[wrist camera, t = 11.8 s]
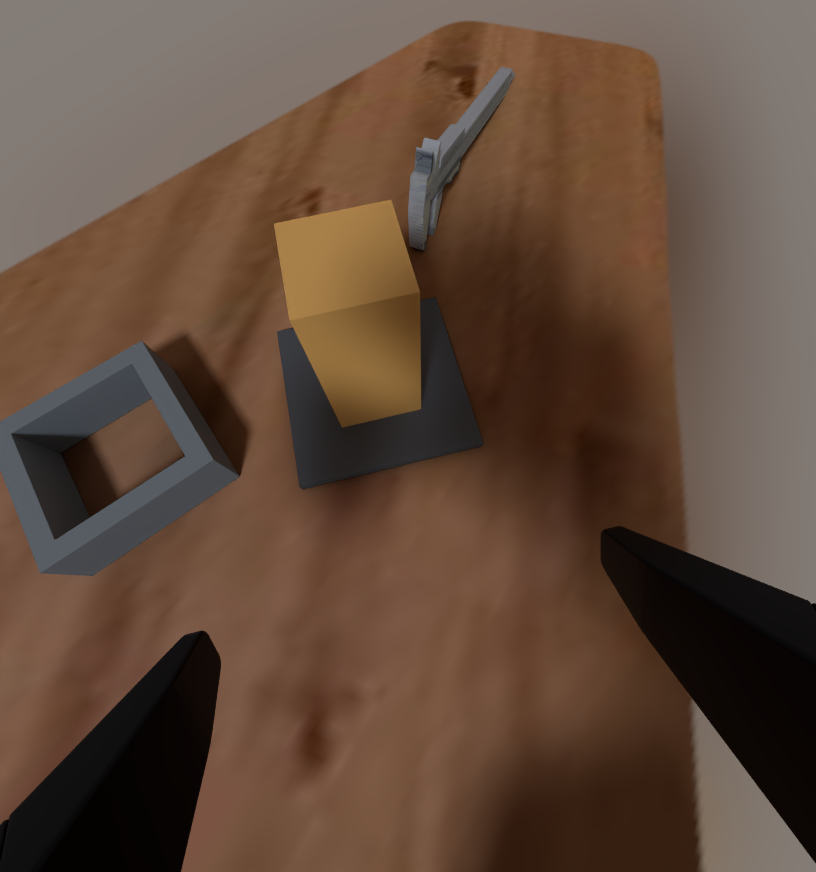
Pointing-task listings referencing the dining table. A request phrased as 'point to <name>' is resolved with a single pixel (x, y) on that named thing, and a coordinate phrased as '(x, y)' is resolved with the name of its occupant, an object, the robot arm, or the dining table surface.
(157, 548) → the dining table surface
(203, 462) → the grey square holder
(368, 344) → the block
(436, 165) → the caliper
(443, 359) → the mat
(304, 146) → the dining table surface
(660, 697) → the dining table surface
